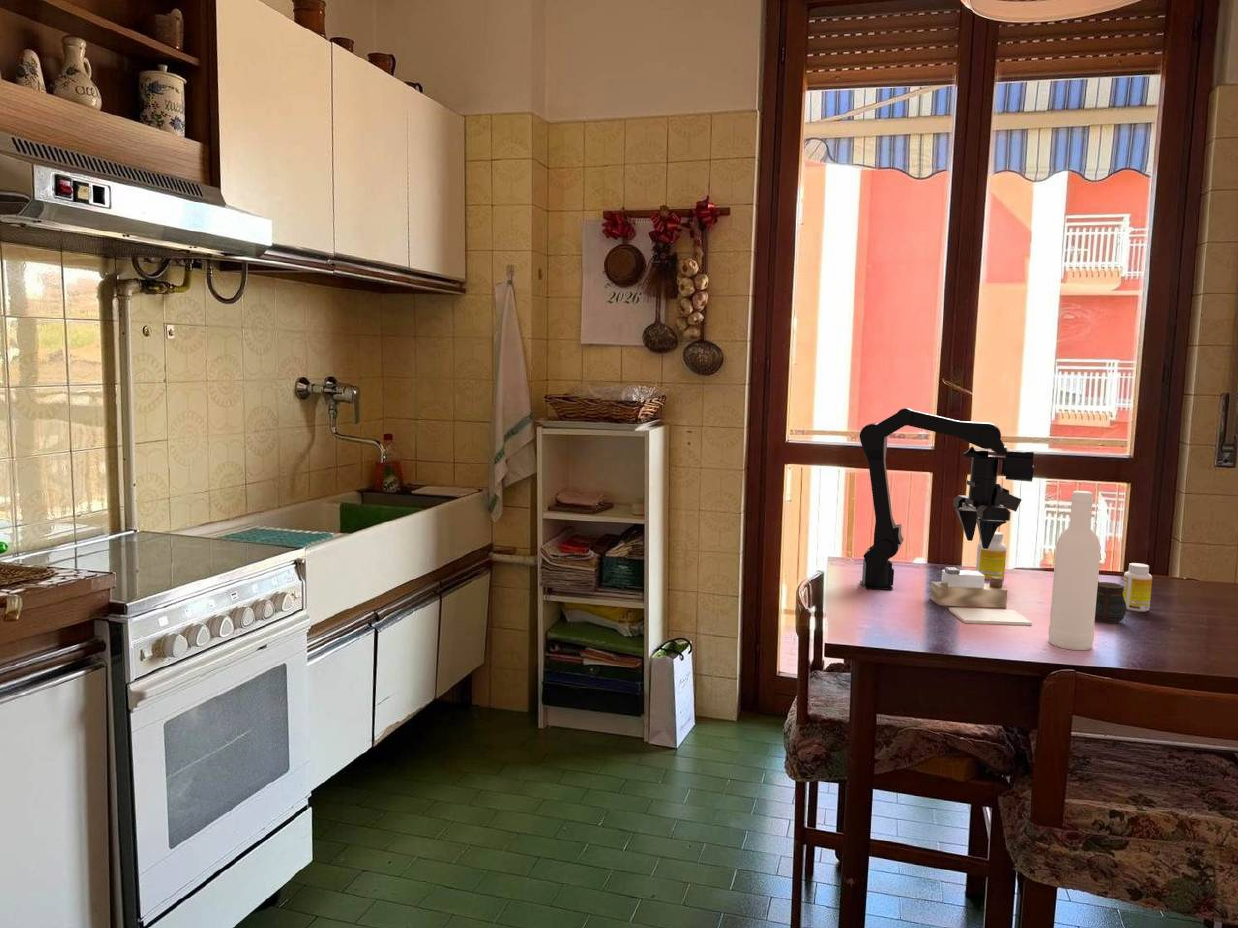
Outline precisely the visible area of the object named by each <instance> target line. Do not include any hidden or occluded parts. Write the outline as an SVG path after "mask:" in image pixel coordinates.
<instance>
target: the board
mask: <svg viewBox="0 0 1238 928" xmlns="http://www.w3.org/2000/svg"><path fill="white" fill-rule="evenodd" d="M948 611H949V612H950V613H952V614H953V615H954V616H955V617H957V618H958V619H960V621H961V622H963V623H964V624H980V625H981V624H983V625H986V624H987V625H988V624H989V625H1009V626H1010V625H1011V626H1013V625H1015V626H1033V621H1031V620H1030V619H1027V617H1025V616H1023V615H1022V614H1020V613H1019V612H1017V611H1016V610H1014V609H1003V608H999V609H997V608H996V609H995V608H975V607H974V608H973V607H969V608H968V607H948Z"/></svg>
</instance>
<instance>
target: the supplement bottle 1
mask: <svg viewBox="0 0 1238 928" xmlns="http://www.w3.org/2000/svg"><path fill="white" fill-rule="evenodd" d="M1003 539H1004V533H1003V532H1000V531H996V532H995V534H994V536H993V538H992V541H991V543H990V545H989V548H988V549H984V548H983V547H982V543H981V541H979V542H978V544H977V552H976V566H975V571H978V572H980V573H981V574H983V575H985V579H984V583H987V584H990V577H1000V578H1002V579H1003V580H1002V585H1003V584H1005V571H1006V557H1007V546H1006V544H1005V543H1003Z"/></svg>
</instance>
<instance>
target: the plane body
mask: <svg viewBox="0 0 1238 928" xmlns="http://www.w3.org/2000/svg"><path fill="white" fill-rule="evenodd" d="M1002 580H1003V579H1002V578H1000V577H990V584H987V583H984V589H979V588H950V587H947V586H945V585H944V584H943V583H941V581H931V584H930V586H931V587H930V598H929V599H930V600H932V601H933V603H935V604H936V605H938V606H944V607H945V606H946V607H947V606H948V607H949V606H950V607H971V608H973V607H974V608H975V607H977V608H978V607H979V608H980V607H981V608H999V609H1003V608H1005V609H1006V608H1007V604H1008V589H1006V588H1004V587H1003V584H1002Z"/></svg>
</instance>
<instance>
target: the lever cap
mask: <svg viewBox="0 0 1238 928" xmlns="http://www.w3.org/2000/svg"><path fill="white" fill-rule="evenodd" d="M984 579H985V575H983V574H981V573H980V572H978V571H976V570H961V569H958V568H957V567H954V566H953V567H950V566H948V567H947V566H945V567H944V569H941V581H940V582H941V583H943V584H944V585H945V586H947V587H950V588H979V589H984Z"/></svg>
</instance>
